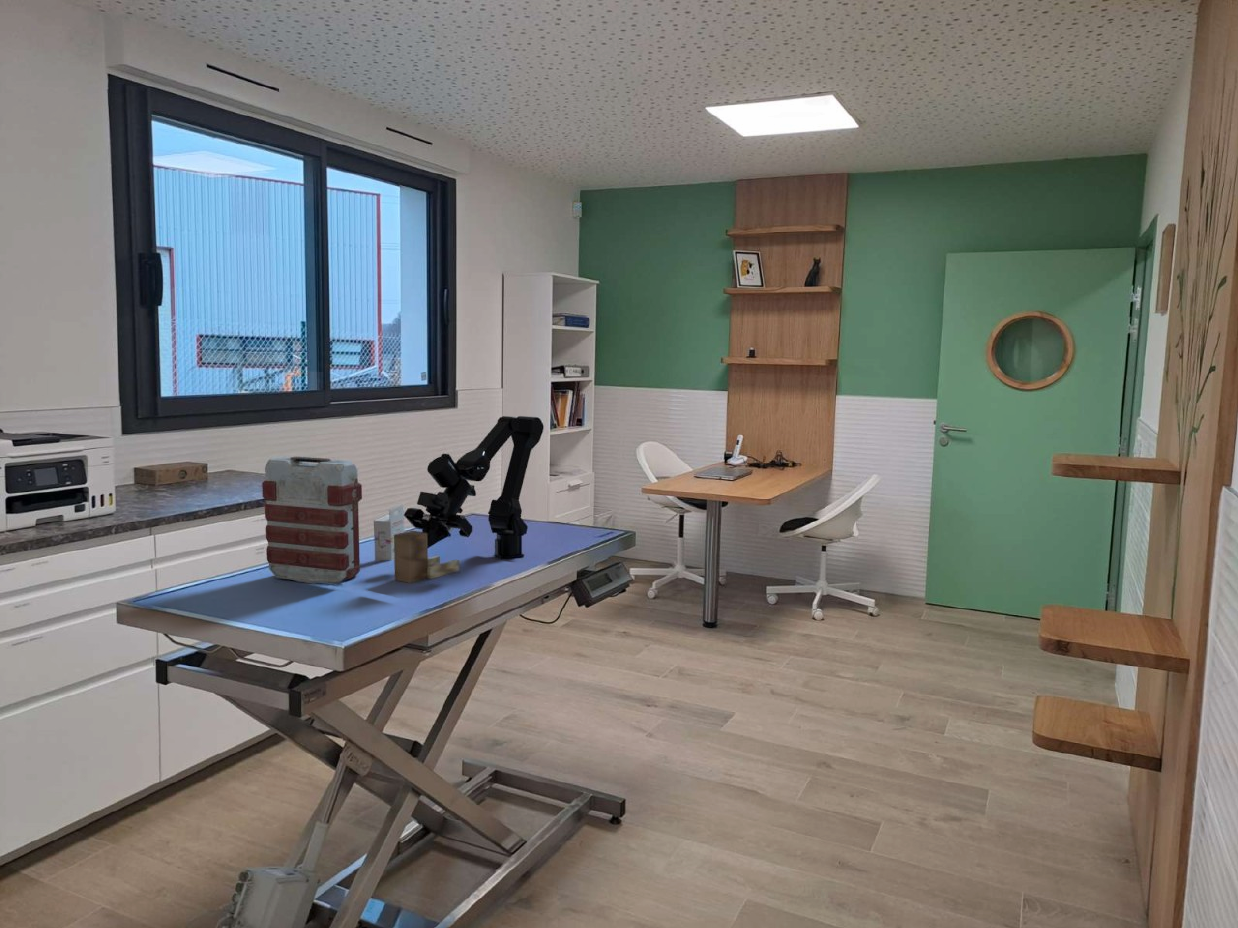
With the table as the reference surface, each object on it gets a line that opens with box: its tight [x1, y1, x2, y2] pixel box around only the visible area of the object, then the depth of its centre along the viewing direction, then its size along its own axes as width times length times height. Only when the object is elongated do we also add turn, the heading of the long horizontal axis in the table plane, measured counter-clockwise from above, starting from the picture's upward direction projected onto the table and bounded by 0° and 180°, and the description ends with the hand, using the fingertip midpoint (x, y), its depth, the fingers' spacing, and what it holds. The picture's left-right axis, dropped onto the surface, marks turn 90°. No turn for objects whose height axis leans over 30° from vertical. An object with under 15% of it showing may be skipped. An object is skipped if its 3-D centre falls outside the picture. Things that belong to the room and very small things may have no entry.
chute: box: [427, 555, 460, 580], centre depth 222 cm, size 18×10×4 cm, turn 147°
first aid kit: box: [261, 456, 363, 586], centre depth 218 cm, size 23×8×30 cm, turn 71°
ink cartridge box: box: [373, 504, 405, 563], centre depth 239 cm, size 9×5×15 cm, turn 168°
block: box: [393, 530, 429, 584], centre depth 217 cm, size 6×5×11 cm
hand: (420, 549), depth 219 cm, fingers closed, pressing on block
